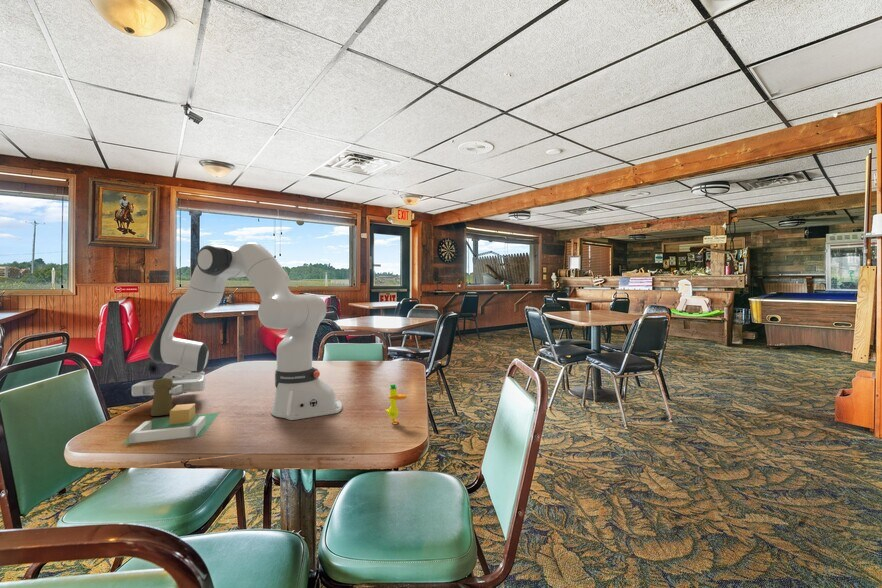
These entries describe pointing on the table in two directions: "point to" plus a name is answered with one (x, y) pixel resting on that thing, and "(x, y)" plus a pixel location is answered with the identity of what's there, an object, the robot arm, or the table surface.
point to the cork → (162, 397)
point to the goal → (165, 432)
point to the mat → (180, 424)
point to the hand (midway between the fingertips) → (161, 392)
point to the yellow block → (182, 413)
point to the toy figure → (394, 402)
